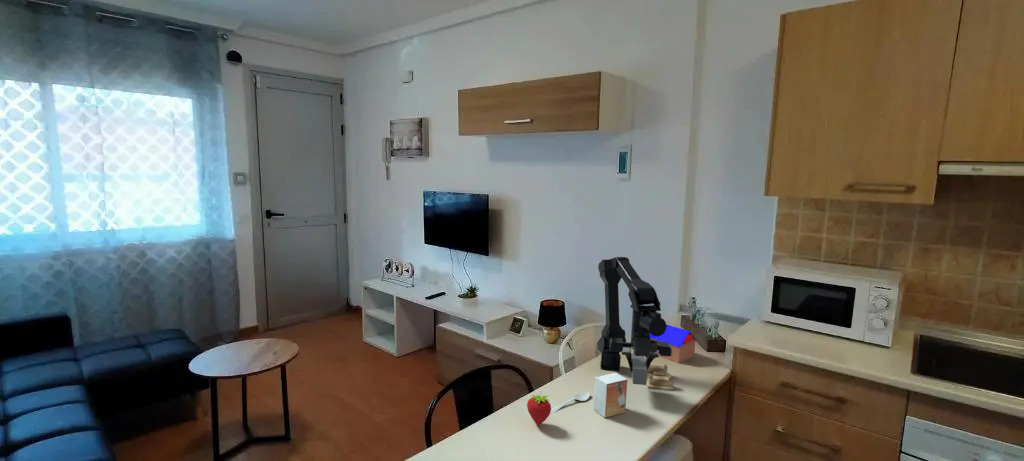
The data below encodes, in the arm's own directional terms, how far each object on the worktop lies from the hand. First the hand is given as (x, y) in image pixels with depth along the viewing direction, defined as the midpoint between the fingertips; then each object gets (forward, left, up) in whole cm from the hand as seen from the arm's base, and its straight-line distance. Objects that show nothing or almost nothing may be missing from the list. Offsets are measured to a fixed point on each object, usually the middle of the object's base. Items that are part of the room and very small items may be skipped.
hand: (638, 372), depth 154 cm
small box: (-9, -13, -8) cm, 17 cm away
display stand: (+8, +12, -7) cm, 16 cm away
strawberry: (-29, -25, -8) cm, 39 cm away
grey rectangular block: (0, 0, -1) cm, 1 cm away
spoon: (-22, -12, -8) cm, 26 cm away
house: (+14, +40, -8) cm, 43 cm away
